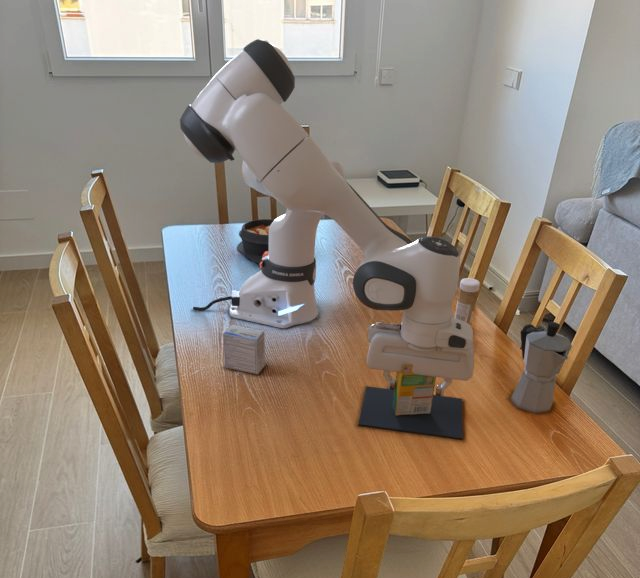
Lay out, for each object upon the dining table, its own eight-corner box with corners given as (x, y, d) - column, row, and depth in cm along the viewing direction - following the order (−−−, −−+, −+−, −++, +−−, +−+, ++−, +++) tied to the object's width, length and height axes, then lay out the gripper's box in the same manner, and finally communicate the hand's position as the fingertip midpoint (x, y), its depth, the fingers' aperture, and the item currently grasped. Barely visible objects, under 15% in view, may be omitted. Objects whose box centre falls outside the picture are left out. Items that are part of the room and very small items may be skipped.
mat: (358, 425, 122) (358, 424, 122) (366, 387, 133) (366, 386, 133) (462, 440, 120) (462, 438, 120) (461, 400, 131) (462, 398, 131)
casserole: (306, 268, 184) (307, 240, 179) (242, 271, 180) (241, 243, 175) (289, 238, 204) (289, 212, 199) (231, 241, 200) (230, 214, 195)
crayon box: (425, 405, 128) (434, 355, 121) (430, 413, 126) (439, 363, 119) (391, 407, 127) (398, 357, 120) (395, 416, 125) (402, 365, 118)
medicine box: (265, 365, 139) (265, 330, 134) (257, 375, 135) (256, 339, 130) (233, 358, 141) (231, 323, 136) (224, 368, 137) (222, 332, 132)
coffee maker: (567, 415, 128) (593, 337, 118) (529, 421, 126) (553, 341, 115) (527, 377, 140) (548, 303, 129) (492, 382, 137) (510, 306, 127)
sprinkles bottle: (473, 334, 156) (484, 282, 148) (460, 338, 153) (470, 286, 145) (460, 326, 159) (470, 275, 151) (447, 330, 156) (456, 279, 148)
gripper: (366, 328, 114) (360, 392, 122) (481, 342, 112) (467, 406, 120) (370, 313, 119) (364, 376, 127) (480, 326, 117) (466, 389, 125)
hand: (414, 391), depth 124 cm, fingers open, 8 cm apart
